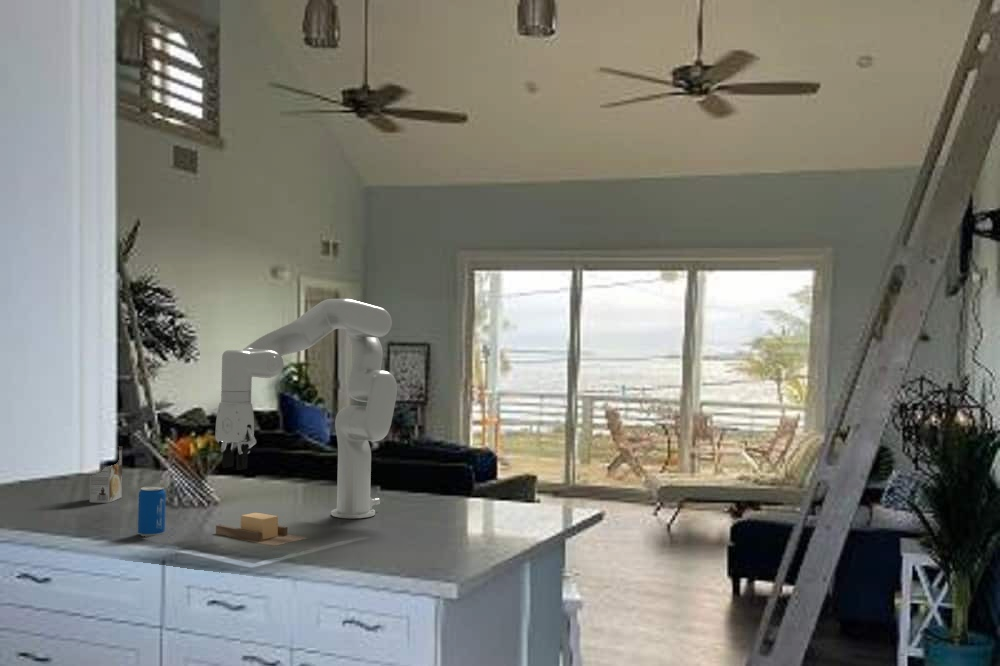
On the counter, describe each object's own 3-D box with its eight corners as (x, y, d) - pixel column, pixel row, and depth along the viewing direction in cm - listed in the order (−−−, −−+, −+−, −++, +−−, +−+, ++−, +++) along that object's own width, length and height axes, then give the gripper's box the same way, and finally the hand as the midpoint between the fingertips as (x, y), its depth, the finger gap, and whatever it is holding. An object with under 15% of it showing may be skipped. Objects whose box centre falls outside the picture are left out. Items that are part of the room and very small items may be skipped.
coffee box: (101, 497, 295) (102, 445, 295) (122, 497, 294) (123, 446, 294) (88, 502, 285) (89, 449, 285) (109, 503, 285) (110, 449, 285)
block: (255, 531, 244) (256, 512, 244) (277, 536, 240) (278, 516, 240) (240, 535, 240) (241, 515, 240) (262, 539, 235) (263, 519, 235)
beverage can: (149, 538, 238) (150, 490, 238) (132, 535, 242) (133, 488, 242) (170, 534, 244) (171, 487, 244) (153, 531, 247) (154, 485, 247)
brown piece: (248, 530, 250) (248, 519, 250) (308, 541, 238) (308, 529, 238) (212, 537, 241) (213, 526, 241) (273, 550, 229) (274, 537, 229)
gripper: (202, 396, 247) (201, 466, 246) (247, 400, 237) (246, 473, 237) (225, 395, 253) (224, 463, 253) (270, 398, 243) (268, 469, 243)
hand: (234, 467), depth 245 cm, fingers open, 4 cm apart
